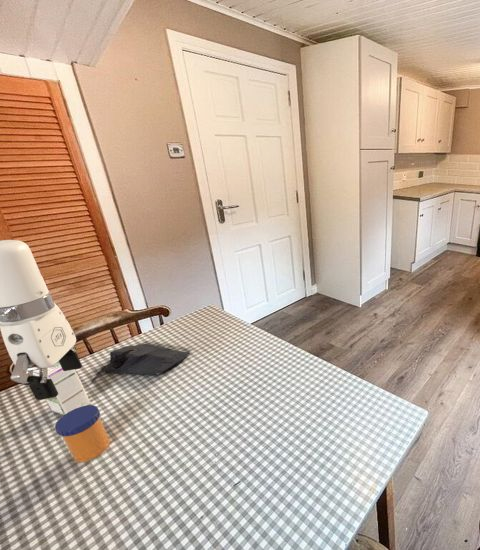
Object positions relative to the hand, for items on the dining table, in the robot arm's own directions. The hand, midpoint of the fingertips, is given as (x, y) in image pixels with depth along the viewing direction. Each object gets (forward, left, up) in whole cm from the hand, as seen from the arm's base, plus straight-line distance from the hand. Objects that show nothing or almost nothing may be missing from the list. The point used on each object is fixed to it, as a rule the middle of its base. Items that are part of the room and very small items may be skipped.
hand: (61, 382), depth 62 cm
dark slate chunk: (+2, +32, -20) cm, 38 cm away
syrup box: (-11, +16, -20) cm, 28 cm away
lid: (0, 0, -10) cm, 10 cm away
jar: (0, 0, -19) cm, 19 cm away
